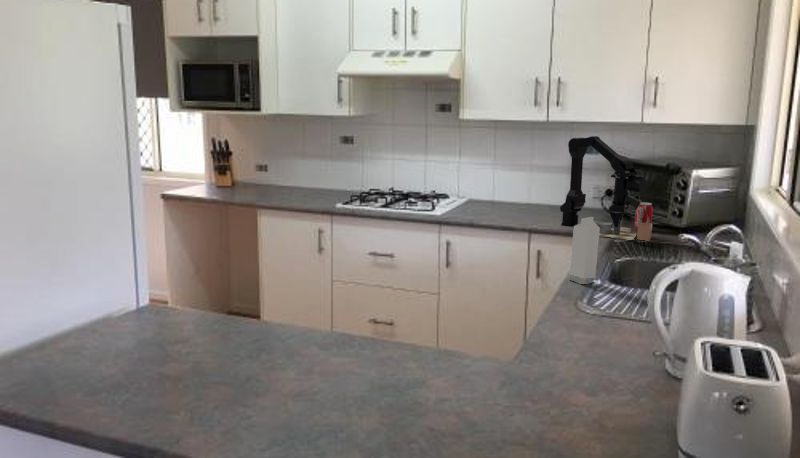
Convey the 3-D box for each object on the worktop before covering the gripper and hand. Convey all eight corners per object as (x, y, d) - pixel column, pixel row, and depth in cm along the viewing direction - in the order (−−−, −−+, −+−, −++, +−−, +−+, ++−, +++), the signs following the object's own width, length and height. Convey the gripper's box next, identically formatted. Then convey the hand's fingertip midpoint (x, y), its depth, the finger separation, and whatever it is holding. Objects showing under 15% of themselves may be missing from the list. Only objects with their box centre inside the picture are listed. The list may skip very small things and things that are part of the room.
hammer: (586, 230, 294) (587, 217, 293) (588, 228, 297) (589, 216, 295) (630, 235, 287) (631, 222, 285) (630, 233, 289) (632, 221, 288)
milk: (594, 282, 226) (601, 218, 221) (582, 285, 223) (589, 220, 217) (580, 278, 231) (586, 214, 226) (568, 280, 227) (574, 216, 222)
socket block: (636, 240, 284) (638, 225, 283) (638, 236, 290) (639, 222, 289) (649, 241, 282) (650, 226, 281) (650, 238, 288) (652, 223, 287)
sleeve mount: (577, 234, 292) (578, 223, 291) (582, 229, 302) (583, 218, 301) (633, 241, 283) (634, 229, 282) (636, 235, 292) (637, 224, 291)
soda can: (651, 231, 300) (654, 205, 297) (635, 230, 301) (637, 204, 298) (649, 228, 307) (652, 202, 304) (633, 227, 308) (635, 201, 305)
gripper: (638, 194, 274) (634, 231, 278) (643, 187, 291) (639, 222, 295) (610, 191, 279) (606, 228, 283) (616, 185, 295) (613, 220, 299)
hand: (617, 225), depth 290 cm, fingers open, 9 cm apart
